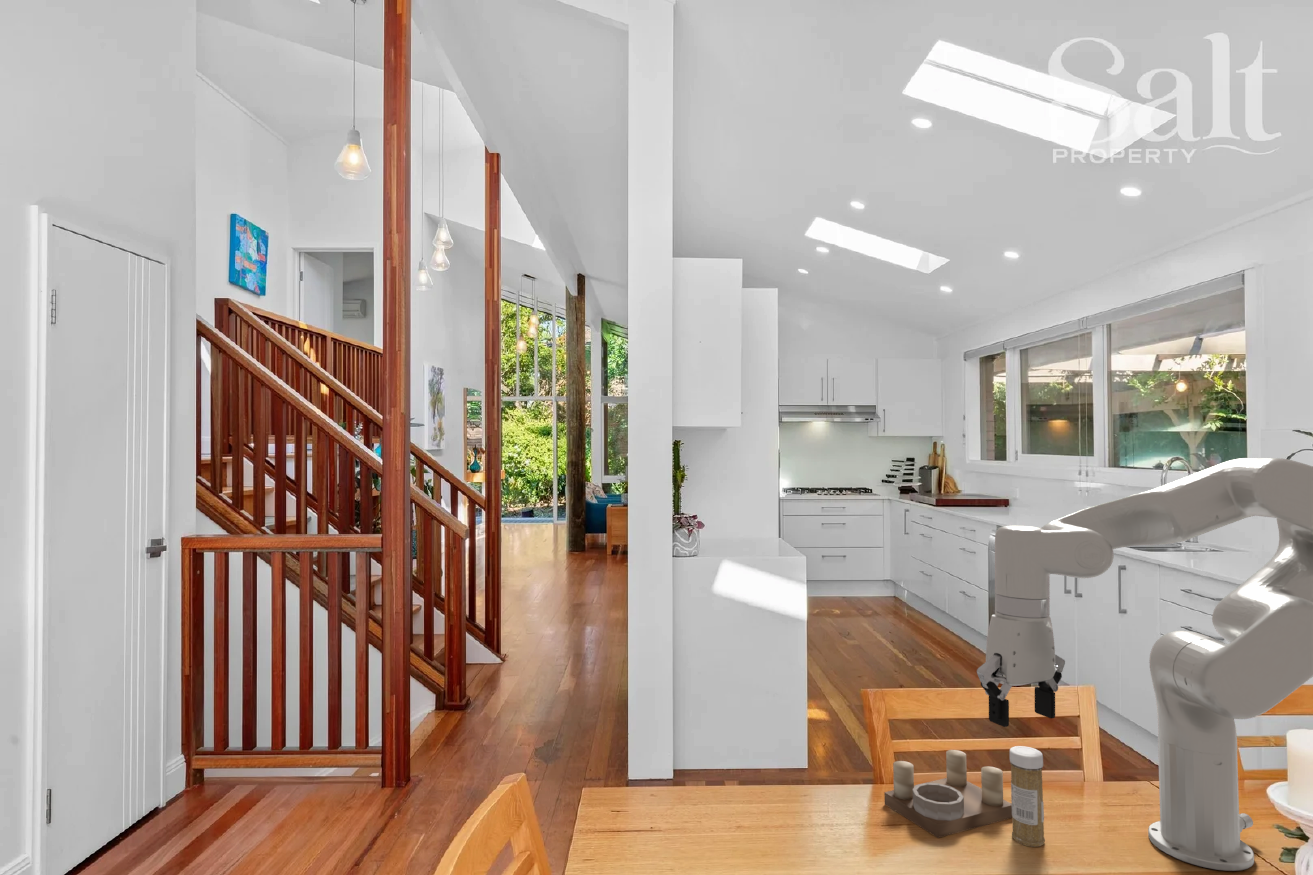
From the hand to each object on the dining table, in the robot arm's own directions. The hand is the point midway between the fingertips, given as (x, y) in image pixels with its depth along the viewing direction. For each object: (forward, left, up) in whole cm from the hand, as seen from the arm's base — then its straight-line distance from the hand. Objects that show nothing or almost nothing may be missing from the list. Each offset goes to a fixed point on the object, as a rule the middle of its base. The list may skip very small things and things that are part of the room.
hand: (1022, 719), depth 112 cm
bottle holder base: (+4, -12, -18) cm, 22 cm away
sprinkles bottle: (0, 0, -18) cm, 18 cm away
